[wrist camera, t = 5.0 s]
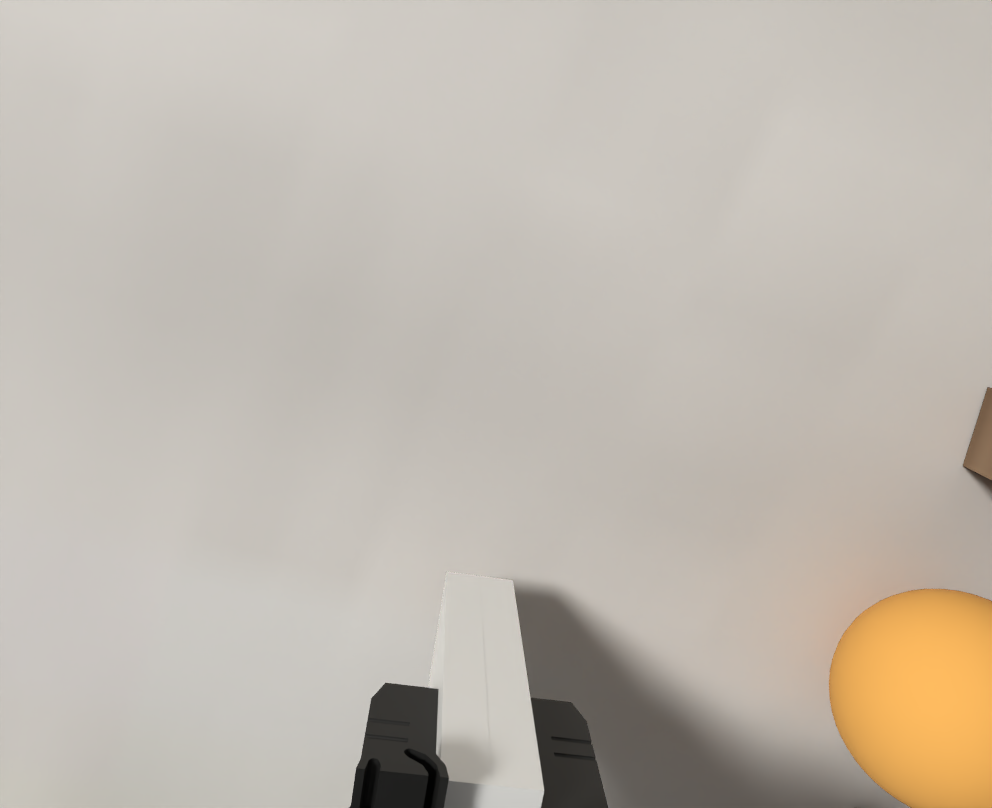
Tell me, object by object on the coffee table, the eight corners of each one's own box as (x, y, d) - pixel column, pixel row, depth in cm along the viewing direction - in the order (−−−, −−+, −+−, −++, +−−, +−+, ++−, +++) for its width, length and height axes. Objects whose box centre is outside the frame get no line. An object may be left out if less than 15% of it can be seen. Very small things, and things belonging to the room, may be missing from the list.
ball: (1143, 633, 17) (1084, 695, 14) (1068, 822, 18) (996, 922, 15) (911, 540, 21) (821, 572, 17) (860, 704, 22) (766, 763, 19)
